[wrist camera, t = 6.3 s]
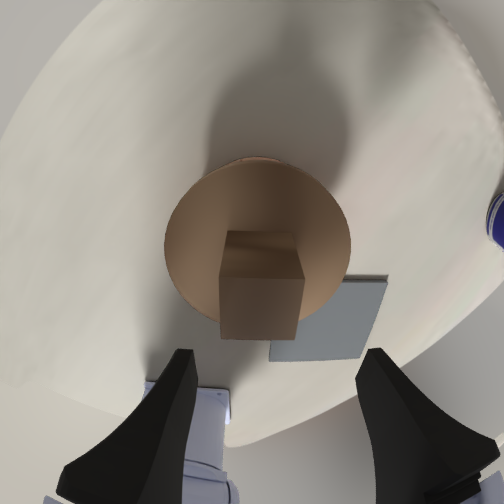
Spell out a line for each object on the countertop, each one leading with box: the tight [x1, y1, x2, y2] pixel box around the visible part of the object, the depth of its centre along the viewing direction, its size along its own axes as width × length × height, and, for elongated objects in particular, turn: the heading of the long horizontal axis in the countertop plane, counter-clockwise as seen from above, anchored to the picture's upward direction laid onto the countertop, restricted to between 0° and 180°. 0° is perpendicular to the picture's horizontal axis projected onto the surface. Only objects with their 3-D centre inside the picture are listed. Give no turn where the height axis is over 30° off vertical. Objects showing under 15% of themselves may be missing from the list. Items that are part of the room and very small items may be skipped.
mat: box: [269, 280, 388, 362], centre depth 23 cm, size 9×9×1 cm
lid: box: [164, 160, 351, 340], centre depth 13 cm, size 9×9×5 cm
